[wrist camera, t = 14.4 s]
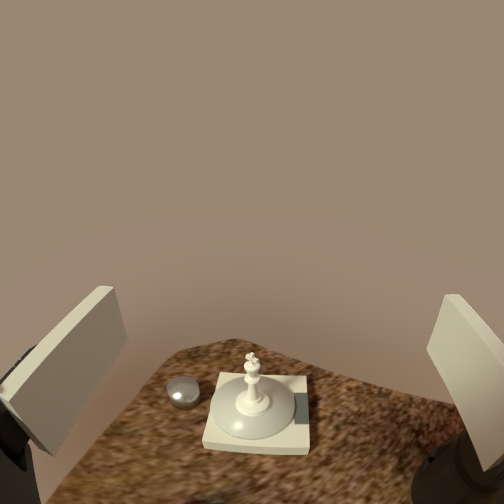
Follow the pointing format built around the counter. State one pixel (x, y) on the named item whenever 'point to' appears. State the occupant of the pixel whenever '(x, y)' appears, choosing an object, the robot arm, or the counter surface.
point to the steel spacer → (184, 393)
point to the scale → (260, 417)
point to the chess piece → (252, 391)
